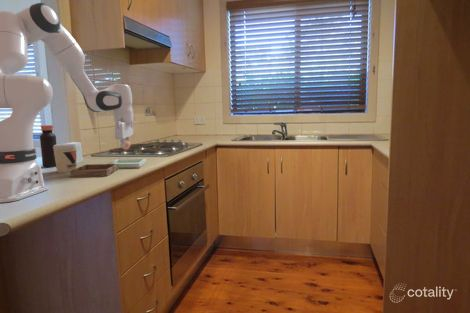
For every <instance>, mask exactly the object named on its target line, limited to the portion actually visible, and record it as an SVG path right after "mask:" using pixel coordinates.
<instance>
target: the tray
mask: <svg viewBox="0 0 470 313" xmlns="http://www.w3.org/2000/svg"><path fill="white" fill-rule="evenodd" d="M145 163H146V164H147V158H116V159H114V160H112V161H110V162H108V163H107V164H118V167H119V169H140V168H142V167H143V166H144V165H146V164H145ZM143 164H144V165H143ZM142 165H143V166H142ZM141 166H142V167H141ZM119 169H118V170H119Z"/></svg>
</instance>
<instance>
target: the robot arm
mask: <svg viewBox="0 0 470 313" xmlns="http://www.w3.org/2000/svg"><path fill="white" fill-rule="evenodd" d="M39 41H41V42H43V43H44V44H45V46H46V48H47V49H48V51H49V52H50V54H51V55H52V56H53V57H54V59H55V60H56V61H57V62H58V63H59V65H60V66H61V67H62V68H63V70H64V71H65V72H66V73H67V74H68V75H69V77H70V78H71V80H72V81H73V83H74V84H75V86H76V87H77V88H78V90H79V91H80V93H81V95H82V97H83V100H84V103H85V105H86V107H87V109H89V111H91V112H94V113H100V112H110V111H113V122H115V124H114V138H115V140H119V142H120V148H121V147H122V148H125V147H126V143H125V141H128V142H129V143H130V137H131V136H133V135H134V132H135V130H134V129H135V127H134V126H135V124H134V123H135V122H134V121H136V120H135V116H134V109H133V106H132V105H133V94H132V89H131V87H130V85H128V84H126V83H122V82H121V83H120V82H115V83H112V84H111V85H110V86H108V87H106V88H104V89H101V90H99V89H97V88H96V87H95V86H94V84H93V83H92V81H91V80H90V78H89V77H88V74H86V71H85V61H86V55H85V54H84V52H83V49H82V48H81V46H80V45H79V43H78V42H77V41H76V39H75V38H74V37H73V36H72V34H71V33H70V32H69V31H68V30H67V28H66V27H64V26H63V25H62V23H61V22H60V18H59V16H58V14H57V12H56V11H55V10H54V8H52V6H50V5H48V4H46V3H44V2H36V3H34V4H31V5H30V6H29V7H27V8H24V9H22V10H21V11H18V12H17V13H15V12H11V11H7V10H4V11H3V10H1V11H0V109H10V110H11V111H12V112H11V115H10V116H9V117H7V118H4V119H3V120H0V203H10V202H15V201H20V200H22V199H25V198H29V197H31V196H34V195H36V194H39V193H43V192H45V191H47V190H49V187H48V186H47V185H45V181H44V177H43V171H42V168H41V165H39V163H38V162H37V161H36V159H37V150H36V148H35V145H34V124H35V121H36V118H37V117H38V115H39V113H41V111H42V110H43V109H44V108H46V107H47V106H49V104H50V103H51V102H52V100H53V97H54V90H53V86H52V84H51V83H50V82H49V80H48V79H46V78H45V77H41V76H38V75H32V74H16V73H18V72H20V71H22V70H24V68H26V66H27V65H28V62H29V55H28V52H29V51H28V47H29V46H31V45H32V44H35V43H37V42H39ZM122 148H121V149H122Z"/></svg>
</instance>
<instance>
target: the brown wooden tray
mask: <svg viewBox="0 0 470 313" xmlns="http://www.w3.org/2000/svg"><path fill="white" fill-rule="evenodd" d="M118 170H119V167H118V164H108V163H106V164H105V163H100V164H98V163H97V164H96V163H95V164H90V163H89V164H84V165H81V166H79V167H76V169H74V170H71V171H70V172H69V173H70V177H71V178H86V177H87V178H88V177H92V178H93V177H108V176H111V175H112V174H113V173H115V172H117V171H118Z"/></svg>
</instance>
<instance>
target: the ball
mask: <svg viewBox="0 0 470 313" xmlns="http://www.w3.org/2000/svg"><path fill="white" fill-rule="evenodd" d="M125 143H126V147H125V148H122V147H121V146H120V148H121V149H122V150H129V149H130V147H131V142H130V141H129V142H128V141H125Z"/></svg>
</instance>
